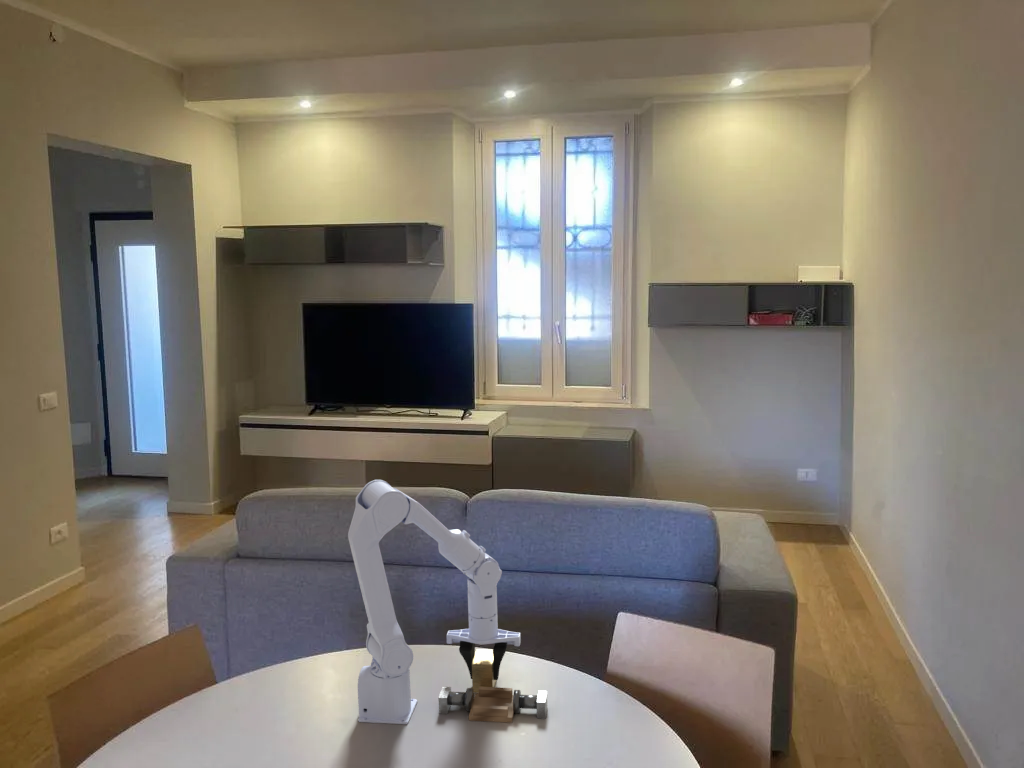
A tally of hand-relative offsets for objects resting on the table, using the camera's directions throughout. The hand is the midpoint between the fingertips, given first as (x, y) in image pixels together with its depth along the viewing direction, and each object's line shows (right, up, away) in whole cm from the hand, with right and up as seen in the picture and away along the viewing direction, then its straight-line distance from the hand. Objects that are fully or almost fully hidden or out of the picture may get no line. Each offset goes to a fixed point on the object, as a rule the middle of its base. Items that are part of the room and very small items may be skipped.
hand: (484, 677), depth 160 cm
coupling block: (0, -2, 0) cm, 2 cm away
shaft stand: (+2, -3, -9) cm, 10 cm away
